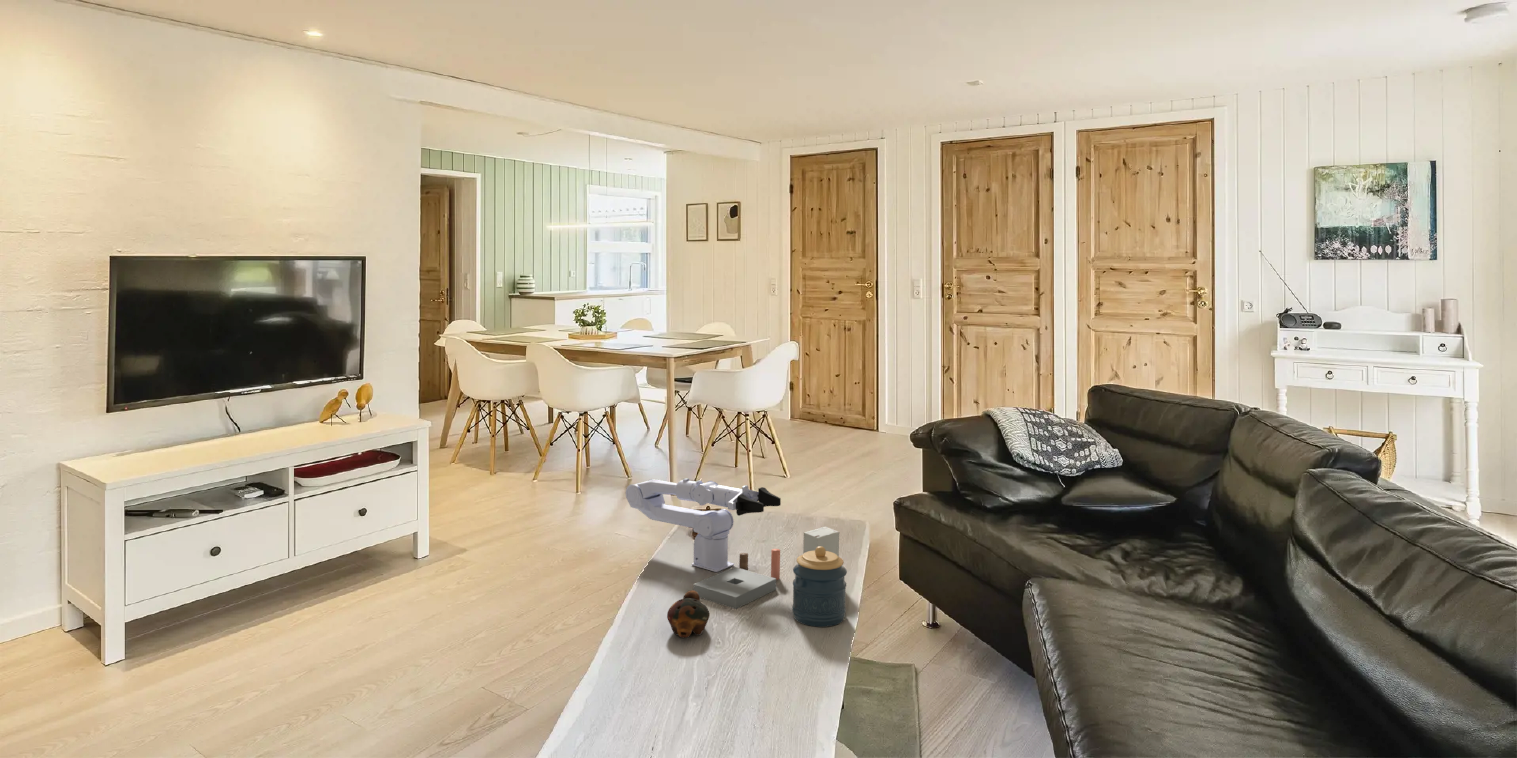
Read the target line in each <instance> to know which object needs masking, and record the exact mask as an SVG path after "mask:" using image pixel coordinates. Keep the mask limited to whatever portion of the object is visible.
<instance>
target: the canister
mask: <svg viewBox="0 0 1517 758" xmlns="http://www.w3.org/2000/svg"><path fill="white" fill-rule="evenodd" d="M796 563H797V564H795V565H794V566H793V568H792V572H793V574H794V579H793V581H792V586H793V587H792V588H793V591H792V594H793V595H792V605H791V610H792V612H791V613H792V617H793V618H794V620H796V622H798V623H800V624H802V625H806V626H810V627H822V628H823V627H832V626H836V625H839V624H840V623H842V622H844V620H845V618H846V617H845V615H846V611H847V608H846V592H847V591H846V589H847V582H846V581H845V576H847V573H848V570H847V569H846V566H845V567H844V564H845V563H844V559H843V558H842V557H840V555H839V556H837V555H836V554H835V553H832V552H829V551H826V550H825V548H824V547H822V546H818V547H817V548H816V549H815V551H808V552H806V553H804V554H803V553H802V554H801V555H798V557H797V558H796Z"/></svg>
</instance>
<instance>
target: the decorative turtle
mask: <svg viewBox="0 0 1517 758" xmlns="http://www.w3.org/2000/svg"><path fill="white" fill-rule="evenodd" d="M700 599H701V598H700V597H699V594H698V593H697V592H696V591H694V590H688V591H686V592H685V594H684V595H683V598H681V599H678V600H677V601H675V602H673V604H672V605H671V606H670V607H669V608H668V610H667V615H666V618H667V621H668V624H669V625H670V628H671V629H672V632H673V633H674V634H675V635H676V634H678V635H677V636H678V637H680V638H681V639H683V638H684V639H687V638H689V637H690V636H691V635H692V632H693V633H694V634H695V636H701V635H702V634H703V632H704V630H705V628H706V627H707V624H708V621H709V618H710V611H709V608H708V607H707V605H705V603H703V602H702V601H701V600H700Z"/></svg>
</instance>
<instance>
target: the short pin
mask: <svg viewBox="0 0 1517 758" xmlns="http://www.w3.org/2000/svg"><path fill="white" fill-rule="evenodd" d="M738 559H739V567H738V568H741V569H744V570H748V571H749V554H748V552H740V553H739V558H738Z"/></svg>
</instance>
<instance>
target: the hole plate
mask: <svg viewBox="0 0 1517 758" xmlns="http://www.w3.org/2000/svg"><path fill="white" fill-rule="evenodd" d="M692 589H693V590H694V591H696V592H697V593H698V594H699V598H700V599H703V600H706V601H709V602H713V603H715V604H719V605H721V606H725V607H728V608H731V609H735V610H737V609H738V608H740V607H742V606H746V605H747V604H750V603H752V602H753V601H755V600H757V599H759V598H761V597H764V596H765V595H768V594H770V593H773V592H774V591H776V590H777V580H776V578H773V577H771V576H769V575H765V574H761V573H757V572H755V571H751V570H749V569H748V570H744V569H741V568H739V567H737V566H732V568H731V567H730V568H729V569H727V570H723V571H721V572H718V573H717V574H715V575H714V574H713V575H712V576H710V577H708V578H705V579H702V580H700V581H698V582H696V583H693V588H692Z"/></svg>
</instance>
